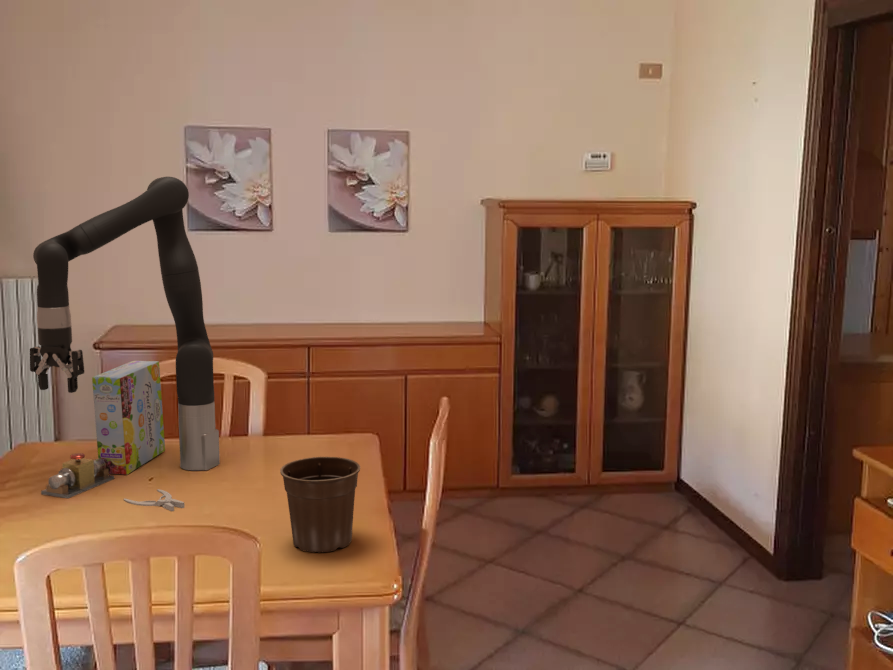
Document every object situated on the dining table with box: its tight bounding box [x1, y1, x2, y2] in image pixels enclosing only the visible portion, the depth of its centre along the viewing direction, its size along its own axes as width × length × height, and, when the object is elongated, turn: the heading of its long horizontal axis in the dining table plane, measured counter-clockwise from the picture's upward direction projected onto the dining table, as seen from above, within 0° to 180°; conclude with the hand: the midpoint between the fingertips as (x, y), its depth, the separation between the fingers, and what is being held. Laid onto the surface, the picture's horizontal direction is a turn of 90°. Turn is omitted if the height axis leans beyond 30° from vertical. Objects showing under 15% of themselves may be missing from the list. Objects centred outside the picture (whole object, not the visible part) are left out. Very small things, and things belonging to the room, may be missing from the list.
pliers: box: [123, 489, 185, 512], centre depth 215 cm, size 10×2×15 cm
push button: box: [61, 452, 95, 487], centre depth 225 cm, size 5×5×7 cm
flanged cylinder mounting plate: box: [40, 457, 115, 499], centre depth 225 cm, size 16×8×6 cm, turn 160°
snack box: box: [91, 360, 166, 476], centre depth 243 cm, size 22×9×26 cm, turn 171°
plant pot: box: [280, 456, 361, 553], centre depth 190 cm, size 16×16×16 cm
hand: (58, 390), depth 224 cm, fingers open, 8 cm apart
